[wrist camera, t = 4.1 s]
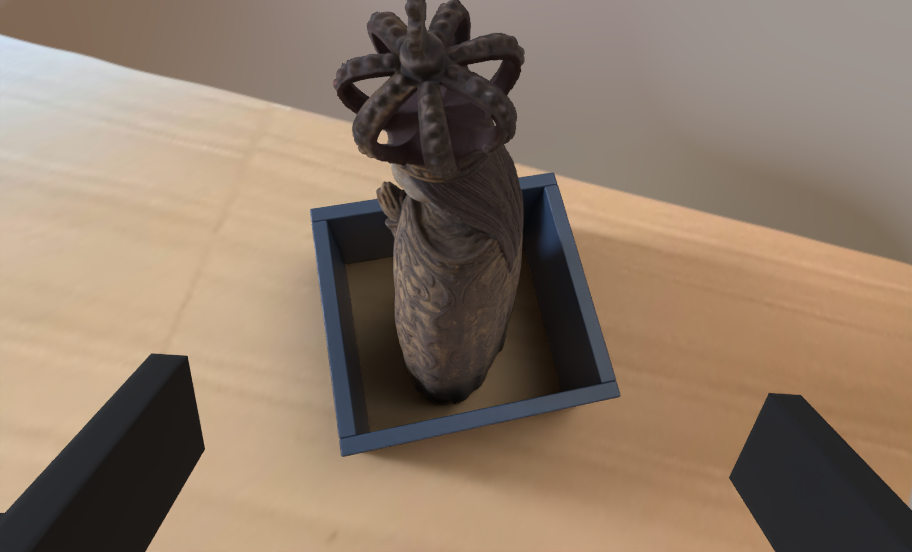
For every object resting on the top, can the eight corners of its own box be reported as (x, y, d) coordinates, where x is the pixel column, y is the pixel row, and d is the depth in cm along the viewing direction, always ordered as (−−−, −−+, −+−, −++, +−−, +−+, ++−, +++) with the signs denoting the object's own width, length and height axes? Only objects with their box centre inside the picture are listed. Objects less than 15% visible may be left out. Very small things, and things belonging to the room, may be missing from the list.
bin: (578, 405, 31) (621, 396, 24) (359, 453, 29) (341, 457, 22) (528, 223, 34) (554, 171, 28) (331, 255, 33) (309, 208, 26)
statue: (377, 288, 32) (259, -133, 8) (485, 253, 33) (642, -199, 10) (421, 417, 30) (428, 333, 6) (535, 374, 31) (902, 166, 7)
